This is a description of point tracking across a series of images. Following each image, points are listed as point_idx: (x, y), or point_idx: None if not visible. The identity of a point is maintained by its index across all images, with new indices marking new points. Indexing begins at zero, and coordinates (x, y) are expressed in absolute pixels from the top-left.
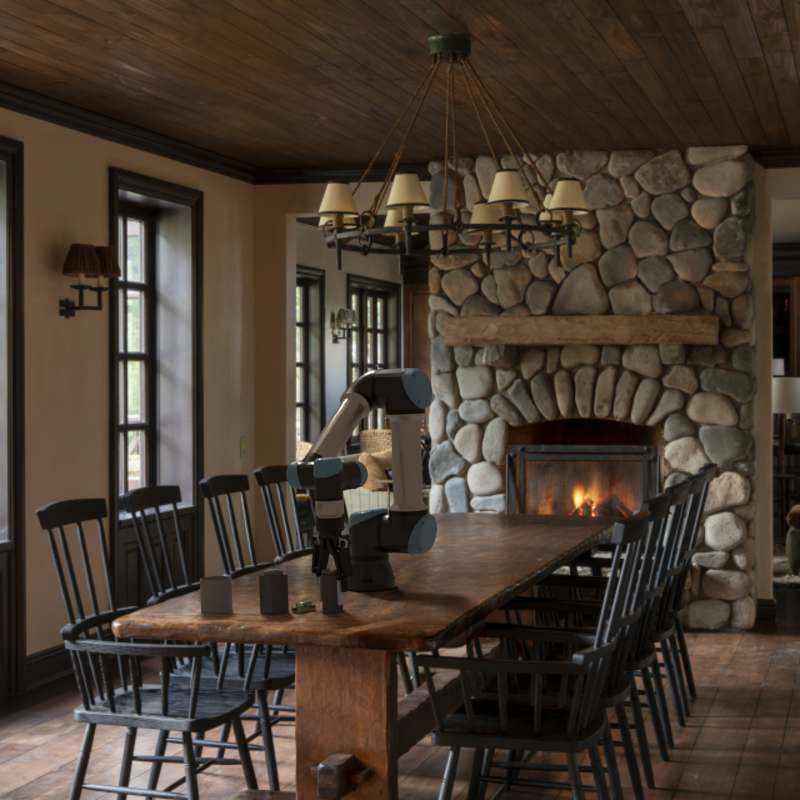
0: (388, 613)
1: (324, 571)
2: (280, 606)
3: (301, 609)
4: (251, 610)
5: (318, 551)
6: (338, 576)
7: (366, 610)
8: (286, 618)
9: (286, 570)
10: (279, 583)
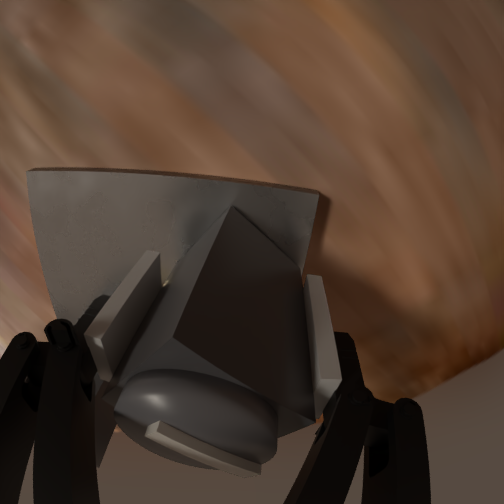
0: (412, 95)
1: (204, 466)
2: None
3: None
4: (17, 303)
5: (3, 483)
6: (316, 438)
7: (273, 80)
8: None
9: None
10: (96, 433)
